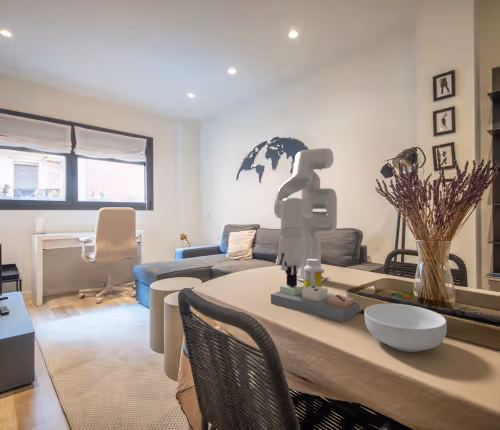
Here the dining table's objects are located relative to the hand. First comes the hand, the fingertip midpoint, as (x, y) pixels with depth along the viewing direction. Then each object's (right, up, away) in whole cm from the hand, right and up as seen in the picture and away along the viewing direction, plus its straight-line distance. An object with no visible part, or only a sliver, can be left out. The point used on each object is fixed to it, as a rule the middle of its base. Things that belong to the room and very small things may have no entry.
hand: (291, 285), depth 98 cm
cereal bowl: (+21, -6, -33) cm, 39 cm away
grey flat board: (+7, -6, -6) cm, 10 cm away
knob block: (0, -4, 0) cm, 4 cm away
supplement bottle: (+10, -6, +11) cm, 16 cm away
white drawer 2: (+7, -4, -6) cm, 10 cm away
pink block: (+13, -5, -12) cm, 19 cm away
